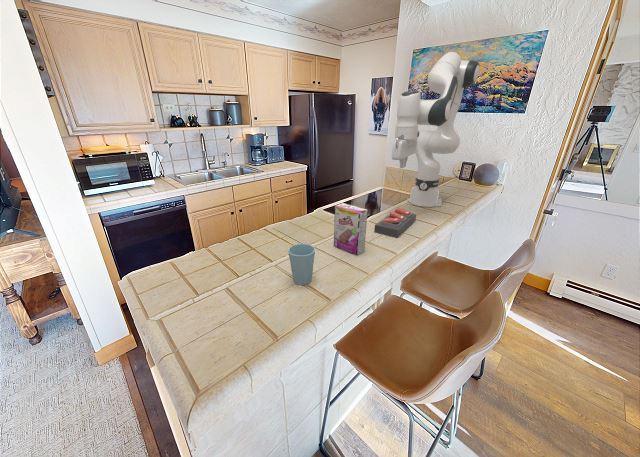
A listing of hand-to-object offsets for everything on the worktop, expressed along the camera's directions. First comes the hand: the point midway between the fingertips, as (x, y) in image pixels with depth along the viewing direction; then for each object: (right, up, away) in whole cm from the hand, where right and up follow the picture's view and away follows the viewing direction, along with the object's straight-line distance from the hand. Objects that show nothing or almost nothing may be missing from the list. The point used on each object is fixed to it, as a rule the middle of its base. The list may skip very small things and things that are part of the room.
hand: (402, 167), depth 117 cm
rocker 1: (-6, -24, -5) cm, 25 cm away
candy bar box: (-26, -35, -18) cm, 47 cm away
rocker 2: (-2, -21, 0) cm, 22 cm away
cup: (-42, -43, -37) cm, 71 cm away
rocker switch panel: (-1, -25, +4) cm, 26 cm away
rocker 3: (+2, -19, +6) cm, 20 cm away
